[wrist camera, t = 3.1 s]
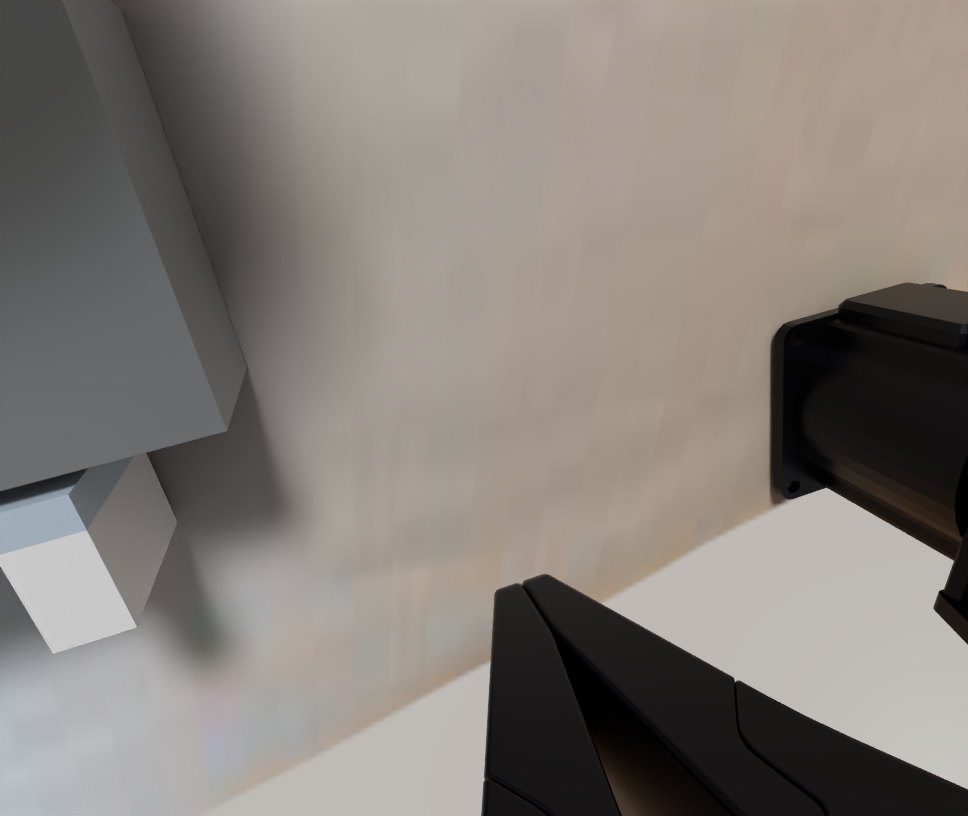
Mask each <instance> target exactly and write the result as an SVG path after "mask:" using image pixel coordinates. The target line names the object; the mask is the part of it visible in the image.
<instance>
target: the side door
mask: <svg viewBox="0 0 968 816" xmlns="http://www.w3.org/2000/svg"><path fill="white" fill-rule="evenodd" d="M176 525H177V520H176V518H175V516H174V514H173V511H172V509H171V507H170V505H169V502H168V500H167V498H166V496H165V493H164V491H163V489H162V487H161V485H160V482H159V480H158V478H157V476H156V473H155V471H154V469H153V467H152V464H151V462H150V460H149V458H148V455H147V453H143V454H139V455H135V456H131V457H128V458H124V459H120V460H116V461H113V462H109V463H105V464H101V465H97V466H94V467H90V468H86V469H82V470H79V471H75V472H71V473H67V474H63V475H60V476H56V477H52V478H48V479H45V480H41V481H37V482H33V483H29V484H26V485H22V486H18V487H14V488H11V489H7V490H3V491H0V567H1V568H2V570H3V572H4V573H5V575H6V577H7V578H8V580H9V582H10V583H11V585H12V587H13V588H14V590H15V591H16V593H17V595H18V596H19V598H20V600H21V601H22V603H23V605H24V606H25V608H26V610H27V611H28V613H29V615H30V616H31V618H32V620H33V621H34V623H35V625H36V626H37V628H38V630H39V631H40V633H41V635H42V636H43V638H44V640H45V641H46V643H47V645H48V646H49V648H50V650H51V651H52V653H53V654H54V653H57V652H61V651H64V650H67V649H70V648H73V647H76V646H80V645H83V644H86V643H89V642H92V641H96V640H99V639H102V638H105V637H108V636H111V635H115V634H118V633H121V632H124V631H127V630H131V629H134V628H137V627H138V624H139V621H140V619H141V616H142V613H143V611H144V608H145V606H146V603H147V600H148V598H149V595H150V593H151V590H152V587H153V585H154V582H155V579H156V577H157V574H158V572H159V569H160V566H161V564H162V561H163V559H164V556H165V553H166V551H167V548H168V545H169V543H170V540H171V538H172V535H173V532H174V530H175V527H176Z"/></svg>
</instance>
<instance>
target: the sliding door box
mask: <svg viewBox="0 0 968 816" xmlns="http://www.w3.org/2000/svg"><path fill="white" fill-rule="evenodd" d="M246 371H247V365H246V362H245V359H244V356H243V353H242V351H241V348H240V345H239V342H238V339H237V336H236V333H235V331H234V328H233V325H232V322H231V319H230V316H229V314H228V311H227V308H226V305H225V302H224V299H223V297H222V294H221V291H220V288H219V285H218V282H217V280H216V277H215V274H214V271H213V268H212V265H211V263H210V260H209V257H208V254H207V251H206V248H205V246H204V243H203V240H202V237H201V234H200V231H199V229H198V226H197V223H196V220H195V217H194V214H193V212H192V209H191V206H190V203H189V200H188V197H187V195H186V192H185V189H184V186H183V183H182V180H181V178H180V175H179V172H178V169H177V166H176V163H175V160H174V158H173V155H172V152H171V149H170V146H169V143H168V141H167V138H166V135H165V132H164V129H163V126H162V124H161V121H160V118H159V115H158V112H157V109H156V107H155V104H154V101H153V98H152V95H151V92H150V90H149V87H148V84H147V81H146V78H145V75H144V73H143V70H142V67H141V64H140V61H139V58H138V56H137V53H136V50H135V47H134V44H133V41H132V39H131V36H130V33H129V30H128V27H127V24H126V22H125V19H124V16H123V13H122V10H121V9H120V8H119V7H118V6H117V5H116V4H115V3H114V2H113V1H112V0H0V491H3V490H7V489H11V488H14V487H18V486H22V485H26V484H29V483H33V482H37V481H41V480H45V479H48V478H52V477H56V476H60V475H63V474H67V473H71V472H75V471H79V470H82V469H86V468H90V467H94V466H97V465H101V464H105V463H109V462H113V461H116V460H120V459H124V458H128V457H131V456H135V455H139V454H143V453H147V452H150V451H154V450H158V449H162V448H165V447H169V446H173V445H177V444H181V443H184V442H188V441H192V440H196V439H199V438H203V437H207V436H211V435H215V434H218V433H222V432H226V431H227V430H228V427H229V424H230V421H231V418H232V415H233V411H234V408H235V405H236V402H237V399H238V396H239V393H240V390H241V387H242V383H243V380H244V377H245V374H246Z"/></svg>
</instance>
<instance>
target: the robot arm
mask: <svg viewBox="0 0 968 816" xmlns="http://www.w3.org/2000/svg"><path fill="white" fill-rule="evenodd" d="M794 333H795V337H794V339H793V341H792V342H790V340H791V337H792V336H793V334H794ZM790 483H791V484H790ZM789 484H790V485H789ZM774 488H775V491H776V492H777V493H778V494H780V495H781V496H783V497H784V498H787V499H794V498H797V497H800V496H803V495H806V494H809V493H812V492H815V491H818V490H821V489H824V488H828V489H830V490H832V491H834V492H835V493H837V494H839V495H841V496H842V497H844V498H846V499H847V500H849V501H851V502H853V503H855V504H856V505H858V506H860V507H862V508H863V509H865V510H867V511H868V512H870V513H872V514H874V515H875V516H877V517H879V518H880V519H882V520H884V521H886V522H887V523H889V524H891V525H893V526H894V527H896V528H898V529H900V530H902V531H903V532H905V533H907V534H908V535H910V536H912V537H914V538H915V539H917V540H919V541H920V542H922V543H924V544H926V545H927V546H929V547H931V548H933V549H934V550H936V551H938V552H940V553H941V554H943V555H945V556H947V557H949V558H950V559H952V560H954V563H953V566H952V569H951V571H950V574H949V577H948V580H947V583H946V585H945V588H944V590H941V591H939V593H938V596H937V599H936V602H935V604H934V610H935V611H936V612H937V613H938V614H939V615H940V616H941V617H942V618H943V619H944V620H945V621H946V623H948V624H949V625H950V626H951V628H952V629H953V630H954V631H955V632H956V633H957V634H958V635H959V636H960V637H961V638H962V639H963V640H964V641H965V642H966V643H967V644H968V292H964V291H958V290H952V289H947V288H946V287H945V286H944V285H941V284H934V283H926V284H922V285H920V284H914V283H903V284H899V285H895V286H892V287H888V288H885V289H881V290H877V291H874V292H870V293H866V294H863V295H859V296H856V297H852V298H848V299H846V300H845V301H843V302H842V303H841V304H840V305H839V308H836V309H833V310H829V311H826V312H822V313H818V314H815V315H811V316H808V317H804V318H800V319H797V320H793V321H790V322H787V323H785V324H783V325H782V326H781V327H780V328H779V330H778V332H777V333H776V337H775V413H774ZM488 702H489V703H488V718H487V736H486V753H485V772H484V778H485V781H484V783H483V799H482V814H481V816H968V789H965V788H963V787H961V786H959V785H956V784H954V783H952V782H950V781H948V780H945V779H943V778H941V777H938V776H936V775H934V774H932V773H930V772H927V771H925V770H923V769H921V768H918V767H916V766H914V765H912V764H909V763H907V762H905V761H903V760H901V759H898V758H896V757H894V756H892V755H889V754H887V753H885V752H883V751H880V750H878V749H876V748H874V747H871V746H869V745H867V744H865V743H862V742H860V741H858V740H856V739H853V738H851V737H849V736H847V735H845V734H843V733H840V732H839V731H836V730H834V729H832V728H830V727H828V726H826V725H824V724H821V723H819V722H817V721H815V720H813V719H811V718H809V717H806V716H805V715H803V714H801V713H799V712H797V711H795V710H793V709H791V708H789V707H787V706H785V705H784V704H782V703H780V702H778V701H776V700H774V699H772V698H770V697H768V696H766V695H765V694H763V693H761V692H759V691H757V690H756V689H754V688H752V687H750V686H748V685H746V684H745V683H743V682H741V681H736V682H735V681H734V678H733V677H732V676H730V675H728V674H726V673H724V672H723V671H721V670H719V669H717V668H716V667H714V666H712V665H710V664H708V663H707V662H705V661H703V660H701V659H699V658H698V657H696V656H694V655H692V654H690V653H689V652H687V651H685V650H683V649H681V648H680V647H678V646H676V645H674V644H672V643H671V642H669V641H667V640H665V639H663V638H662V637H660V636H658V635H656V634H654V633H653V632H651V631H649V630H647V629H645V628H644V627H642V626H640V625H638V624H636V623H635V622H633V621H631V620H629V619H627V618H626V617H624V616H622V615H620V614H618V613H617V612H615V611H613V610H611V609H609V608H608V607H606V606H604V605H602V604H601V603H599V602H597V601H595V600H593V599H592V598H590V597H588V596H586V595H584V594H583V593H581V592H579V591H577V590H575V589H574V588H572V587H570V586H568V585H566V584H565V583H563V582H561V581H559V580H557V579H556V578H554V577H552V576H550V575H547V574H542V575H539V576H536V577H533V578H530V579H527V580H525V581H524V582H523V583H522V585H521V584H518V583H515V584H512V585H509V586H506V587H503V588H500V589H498V590H497V591H496V592H495V595H494V612H493V630H492V648H491V665H490V684H489V701H488Z"/></svg>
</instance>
